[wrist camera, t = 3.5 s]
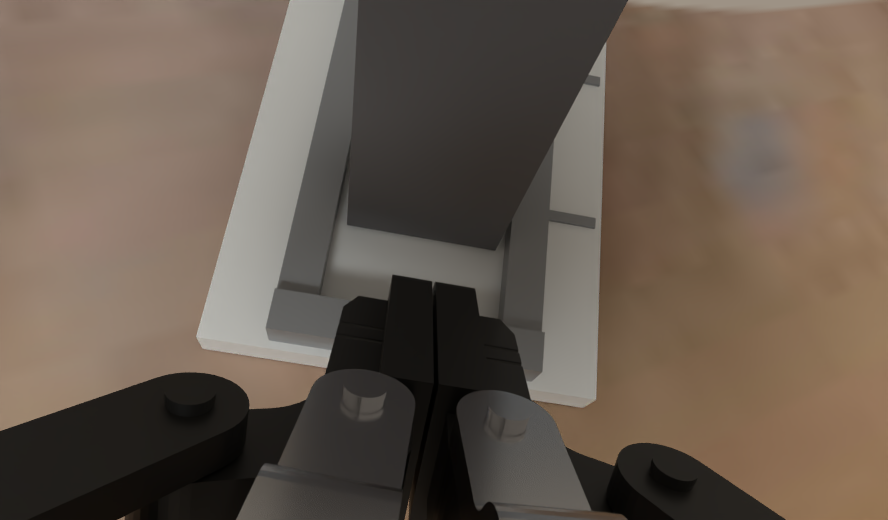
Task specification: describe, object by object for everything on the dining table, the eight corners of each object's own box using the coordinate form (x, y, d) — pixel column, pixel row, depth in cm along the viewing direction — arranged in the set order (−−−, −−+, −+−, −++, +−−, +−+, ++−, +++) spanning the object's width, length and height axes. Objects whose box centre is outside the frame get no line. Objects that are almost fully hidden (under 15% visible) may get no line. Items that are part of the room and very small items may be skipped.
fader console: (582, 407, 19) (610, 390, 17) (203, 348, 18) (188, 324, 16) (603, -143, 28) (622, -192, 26) (352, -200, 27) (353, -255, 25)
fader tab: (495, 250, 19) (688, -114, 9) (346, 224, 18) (367, -188, 8) (504, 156, 20) (682, -259, 10) (365, 130, 20) (403, -327, 10)
